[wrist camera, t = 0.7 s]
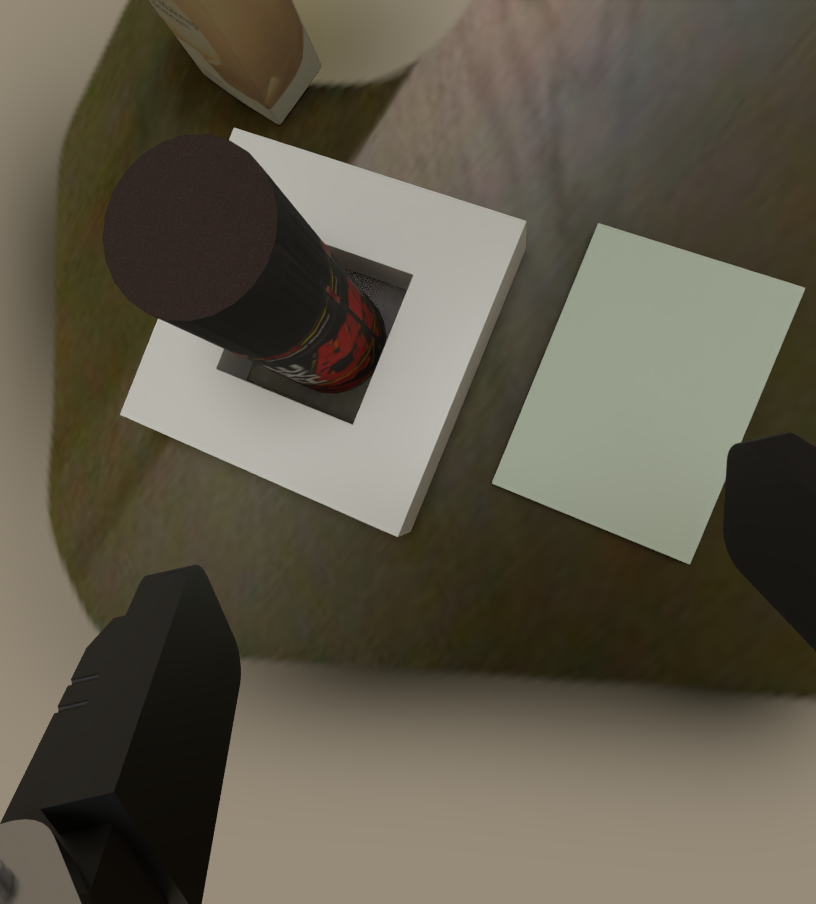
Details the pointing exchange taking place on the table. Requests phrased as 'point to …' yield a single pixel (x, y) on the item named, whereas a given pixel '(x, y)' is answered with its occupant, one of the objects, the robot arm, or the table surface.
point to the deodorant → (238, 265)
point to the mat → (647, 389)
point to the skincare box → (247, 48)
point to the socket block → (401, 363)
